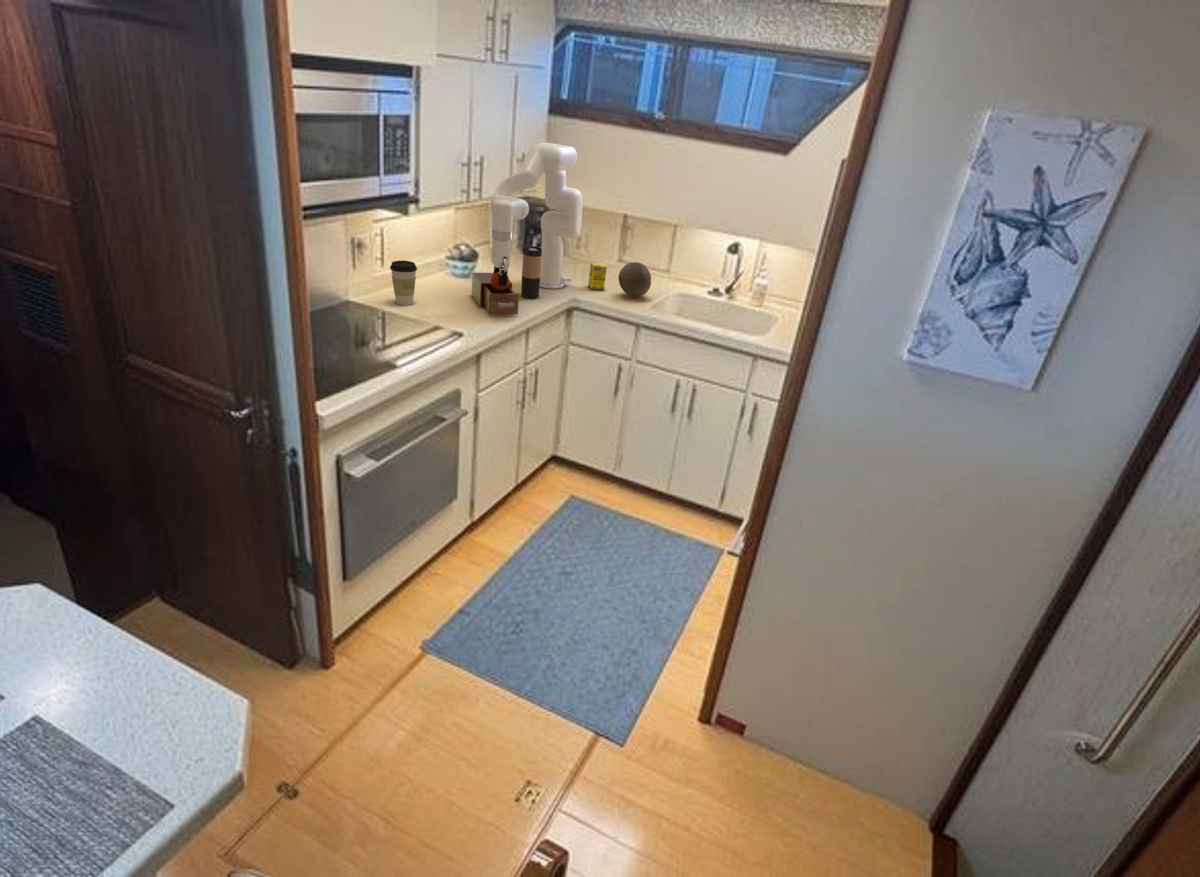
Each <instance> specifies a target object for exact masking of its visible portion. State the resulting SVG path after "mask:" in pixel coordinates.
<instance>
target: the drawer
mask: <svg viewBox="0 0 1200 877" xmlns="http://www.w3.org/2000/svg"><path fill="white" fill-rule="evenodd" d="M519 298H520V294H519V293H518V292H515V291H514V290H513V288H512V289H511V288H510V286H508V287H507V289H506V290H503V291H497V290H495V289H494V288H493V286H492V285H483V292H482V303H483V304H484V306H485V307H484V308H485V309H486V310H487V314H488V315H519V314H518V313H519Z"/></svg>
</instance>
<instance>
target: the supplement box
mask: <svg viewBox="0 0 1200 877" xmlns="http://www.w3.org/2000/svg"><path fill="white" fill-rule="evenodd" d="M606 275H607V266H606V265H605V263H603V262H600V263H599V262H590V264H589V272H588V283H587V287H588V288H589V289H590V290H591V291H602V292H604V291H605V284H606V277H607V276H606Z"/></svg>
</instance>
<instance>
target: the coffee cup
mask: <svg viewBox="0 0 1200 877" xmlns="http://www.w3.org/2000/svg"><path fill="white" fill-rule="evenodd" d="M389 269H390V270H391V281H392V286H393V293H394V298H395V303H396V304H398V305H400V306H411V305H413V304H414V294H415V289H416V288H415V287H416V275H417V274H416V272H417V270H418V267H417V265H416V263H415V262H414V261H411V260H395V261H392V262H391V264H390V266H389Z"/></svg>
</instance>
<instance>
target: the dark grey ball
mask: <svg viewBox="0 0 1200 877" xmlns="http://www.w3.org/2000/svg"><path fill="white" fill-rule="evenodd" d="M618 284H619V286H620V288H621V289H622V291H623V292H624V293H625V294H626V295H628V296H629V297H632V298H639V297H640V298H641V297H642V296H644V295H646V294H647V293H649V290H650V289H651V286H652V274H651V272H650V270H649V269H648V267H647V266H646V265H645V264H643V263H641V262H627V263H626V264H625V265H624V266H623V267H622V268H621V269H620V271H619V272H618Z"/></svg>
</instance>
